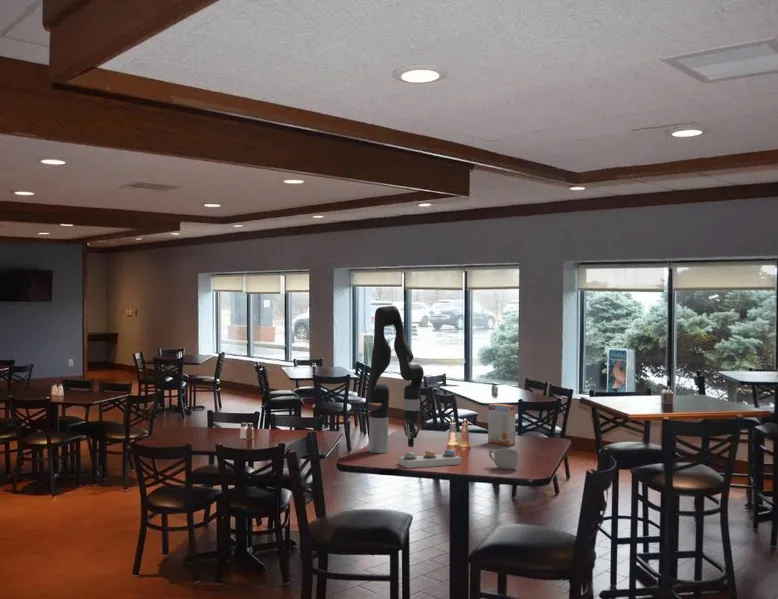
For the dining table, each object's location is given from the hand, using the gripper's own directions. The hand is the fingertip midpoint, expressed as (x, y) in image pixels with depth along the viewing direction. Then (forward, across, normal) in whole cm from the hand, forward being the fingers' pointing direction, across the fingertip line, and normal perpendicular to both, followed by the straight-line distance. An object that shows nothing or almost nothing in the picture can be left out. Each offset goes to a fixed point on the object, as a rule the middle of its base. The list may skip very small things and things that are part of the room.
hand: (410, 446), depth 341 cm
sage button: (+5, 0, 0) cm, 5 cm away
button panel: (+8, 0, +10) cm, 13 cm away
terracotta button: (+5, 0, +10) cm, 11 cm away
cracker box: (+9, -34, +69) cm, 78 cm away
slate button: (+5, 0, +20) cm, 20 cm away
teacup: (+9, +19, +38) cm, 43 cm away
